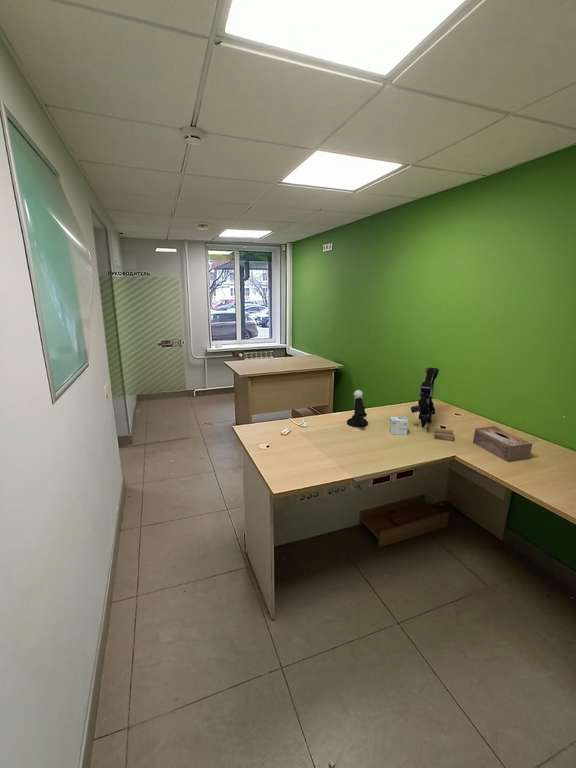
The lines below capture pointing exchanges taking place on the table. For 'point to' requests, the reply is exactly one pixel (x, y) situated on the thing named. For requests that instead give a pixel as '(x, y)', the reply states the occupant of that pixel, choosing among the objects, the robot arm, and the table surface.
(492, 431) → the tissue box cover
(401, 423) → the light bulb box
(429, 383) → the robot arm
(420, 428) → the beige cube
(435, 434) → the pedestal
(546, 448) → the table surface
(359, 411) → the sculpture
